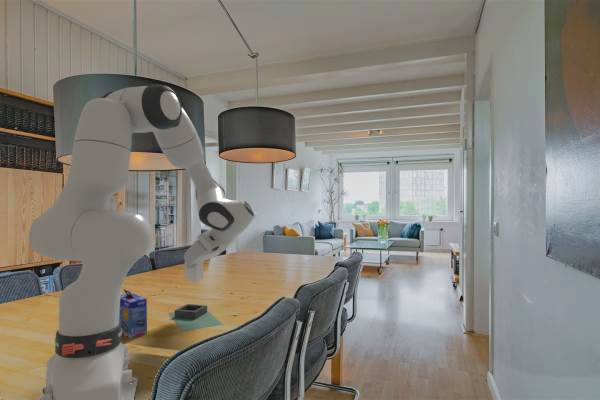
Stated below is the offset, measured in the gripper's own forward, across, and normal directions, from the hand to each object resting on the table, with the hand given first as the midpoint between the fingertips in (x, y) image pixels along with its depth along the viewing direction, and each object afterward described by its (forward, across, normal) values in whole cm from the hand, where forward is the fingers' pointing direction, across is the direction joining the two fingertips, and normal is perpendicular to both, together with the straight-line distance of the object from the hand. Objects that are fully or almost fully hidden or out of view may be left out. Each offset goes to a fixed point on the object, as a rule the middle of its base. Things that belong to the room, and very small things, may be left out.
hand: (192, 265), depth 123 cm
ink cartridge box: (+20, +20, +7) cm, 29 cm away
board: (+12, +3, +15) cm, 19 cm away
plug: (+3, 0, +4) cm, 5 cm away
